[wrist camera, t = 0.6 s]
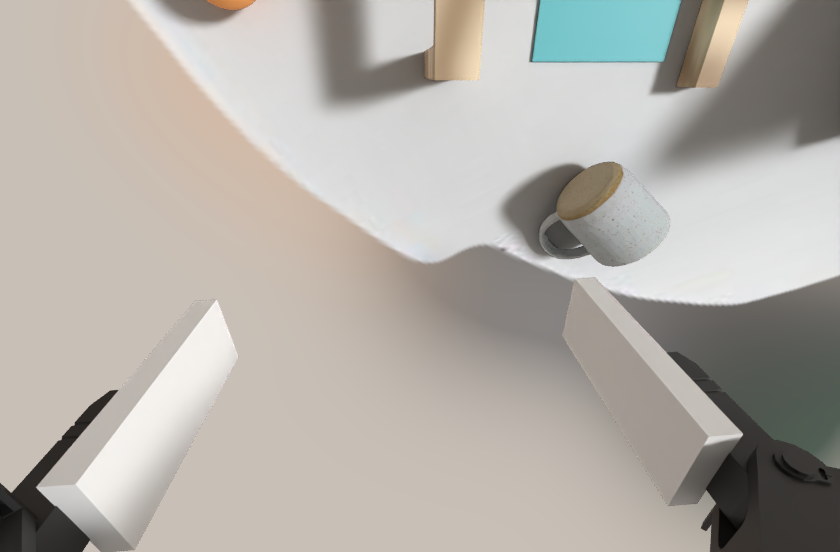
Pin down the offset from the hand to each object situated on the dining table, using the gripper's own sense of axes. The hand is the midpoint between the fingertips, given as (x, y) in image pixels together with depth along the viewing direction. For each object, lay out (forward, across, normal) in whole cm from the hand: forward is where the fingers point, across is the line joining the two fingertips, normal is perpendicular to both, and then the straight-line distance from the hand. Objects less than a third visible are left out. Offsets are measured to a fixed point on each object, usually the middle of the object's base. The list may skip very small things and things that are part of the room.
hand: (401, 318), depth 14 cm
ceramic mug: (+26, +20, -6) cm, 33 cm away
